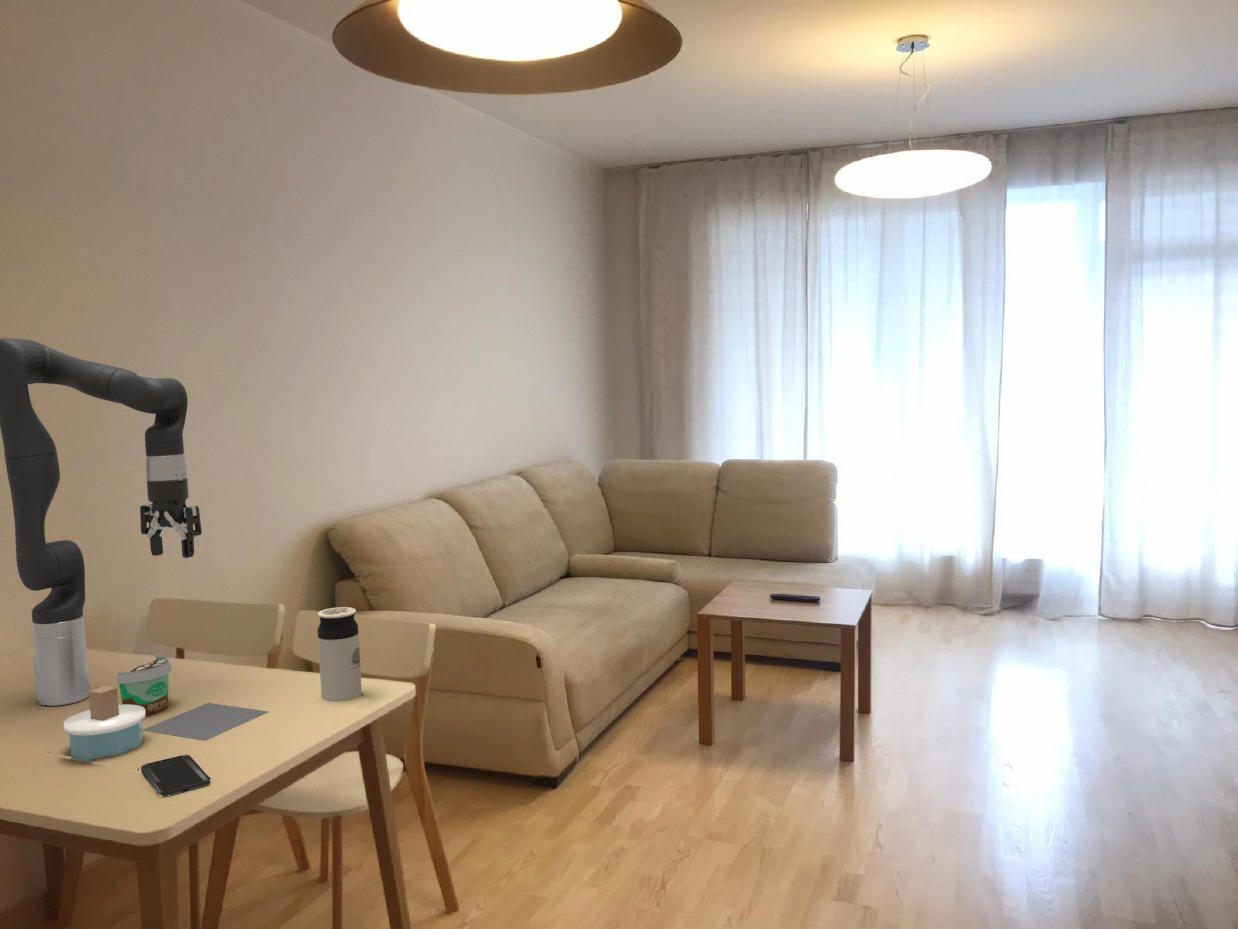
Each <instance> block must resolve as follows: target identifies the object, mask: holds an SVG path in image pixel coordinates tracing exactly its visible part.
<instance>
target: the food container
mask: <svg viewBox="0 0 1238 929" xmlns="http://www.w3.org/2000/svg"><path fill="white" fill-rule="evenodd" d="M172 670H173V667H172V665H171V661H170V660H169V659H168V657H167V656H163V655H155V660H154V661H151V662H149V663H145V664H141V665H139V666H136V667H134V668H133V669H132V670H130V671H123V672H120V671H118V672H117V675H116V682H115V683H116V684H118V686H119V692H120V698H121V703H122V704H121V705H124V704H129V705H138V706H142V707H144V708H145V713H146V717H149V716H154V715H157V714H159V713H162V712H163V711H166V710H167V709H168V707H169V675H170V673H171V672H172Z"/></svg>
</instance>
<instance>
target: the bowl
mask: <svg viewBox="0 0 1238 929" xmlns="http://www.w3.org/2000/svg"><path fill="white" fill-rule="evenodd" d="M142 730H143V720H142V721H141V722H139V723H138V724H136V725H134V726H131V727H128V728H126V729H122V730H119V731H115V732H110V733H105V734H98V735H86V736H80V735H71V734H68V736H69V738H68V739H69V746H70V759H71V760H74V759H75V760H76V761H79V760H80V761H81V762H85V763H95V762H96V760H95V759H100V758H101V759H102V758H108V757H114V756H119V755H121V754H125V753H126V752H129V751H132V750H133V749H136V748H138V747H141V745H142V742H143V737H144V736H143V734H144V733H143V732H144V731H142ZM75 760H74V761H75Z"/></svg>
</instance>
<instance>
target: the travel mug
mask: <svg viewBox="0 0 1238 929" xmlns="http://www.w3.org/2000/svg"><path fill="white" fill-rule="evenodd" d="M356 612H357V610H356V608H354V607H349V606H346V607H345V606H342V607H341V606H339V607H338V606H337V607H331V608H325V609H322V610H319V611H318V613H317V616H318V617H319V620H320V623H319V625H318V627H317V642H318V643H317V644H318V659H319V660H318V661H319V662H318V663H319V678H320V680H319V681H320V694H321V699H322V700H323V701H326V702H343V701H349V700H354V699H356V698H358V697H361V696H362V694H363V690H362V672H361V654H360V653H361V652H360V637H359V635H360V634H359V624H358V623H357V620H356V619H355V616H356Z"/></svg>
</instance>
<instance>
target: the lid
mask: <svg viewBox="0 0 1238 929" xmlns="http://www.w3.org/2000/svg"><path fill="white" fill-rule="evenodd" d="M118 697H119V696H118V687H113V686H107V685H103V686H100V687H97V688H94V689H91V690H89V696H88V699H89V709H88V710H83V711H80V712H79V713H76V714H73V715H72V716H70V717H68V718H67V719H65V720H64V721H63V730H64V732H65V733H66V734H68V735H69V734H71V735H80V736H86V735H98V734H105V733H110V732H115V731H119V730H122V729H126V728H128V727H131V726H134V725H136V724H138V723H139V722H141V721H142V722H143V721H144V720H145V718H146V717H147V716H146V713H145V708H144V707H142V706H138V705H129V704H124V705H122V704H119V698H118Z"/></svg>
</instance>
